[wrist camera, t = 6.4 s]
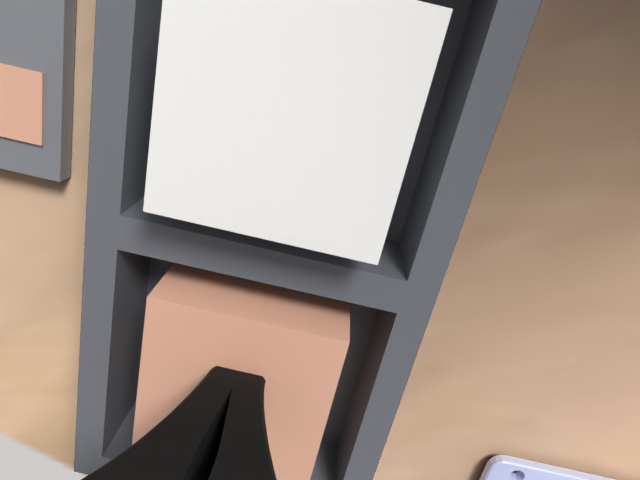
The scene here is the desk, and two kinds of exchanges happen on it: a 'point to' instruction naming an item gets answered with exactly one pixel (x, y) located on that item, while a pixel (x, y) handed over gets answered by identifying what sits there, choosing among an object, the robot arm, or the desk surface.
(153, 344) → the terracotta key
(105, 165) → the grey divided tray
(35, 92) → the card
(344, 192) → the white key
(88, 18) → the desk surface
